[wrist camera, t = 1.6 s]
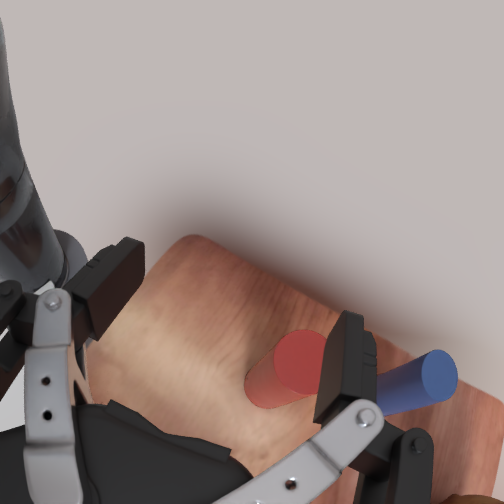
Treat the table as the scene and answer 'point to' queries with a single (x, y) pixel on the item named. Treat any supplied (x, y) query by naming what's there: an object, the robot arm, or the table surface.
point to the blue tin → (417, 383)
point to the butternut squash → (471, 500)
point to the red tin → (287, 370)
